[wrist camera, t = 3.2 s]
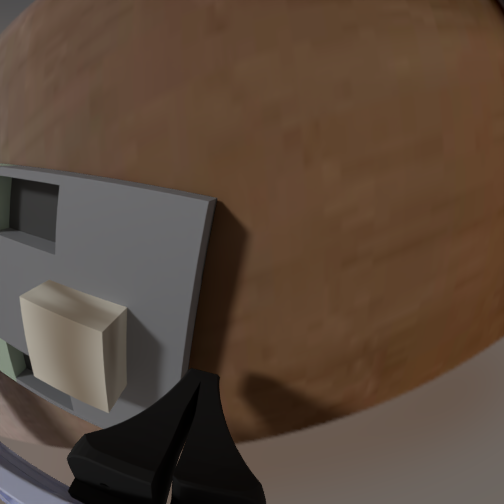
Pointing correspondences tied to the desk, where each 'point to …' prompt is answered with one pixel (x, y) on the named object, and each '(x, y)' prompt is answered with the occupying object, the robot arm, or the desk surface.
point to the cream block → (76, 342)
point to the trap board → (104, 272)
